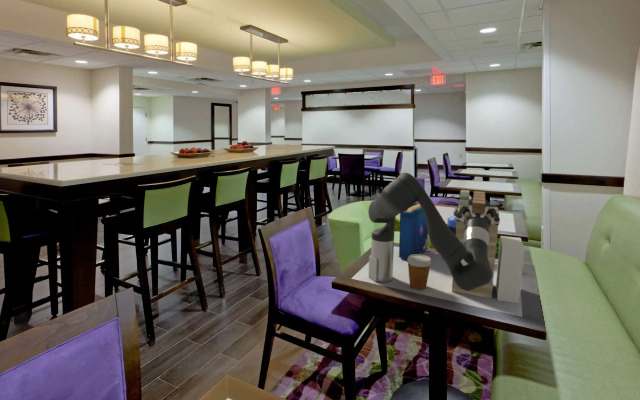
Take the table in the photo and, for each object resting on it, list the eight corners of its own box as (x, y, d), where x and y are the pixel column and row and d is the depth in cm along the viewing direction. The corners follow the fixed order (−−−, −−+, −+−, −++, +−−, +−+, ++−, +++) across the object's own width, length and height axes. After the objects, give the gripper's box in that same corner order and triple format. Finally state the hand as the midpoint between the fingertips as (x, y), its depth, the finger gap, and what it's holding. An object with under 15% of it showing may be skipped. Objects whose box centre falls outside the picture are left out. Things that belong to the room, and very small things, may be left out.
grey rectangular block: (518, 303, 133) (524, 249, 129) (497, 300, 136) (502, 246, 132) (515, 287, 147) (520, 237, 143) (495, 284, 149) (500, 235, 146)
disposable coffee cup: (415, 293, 142) (417, 263, 140) (400, 284, 150) (402, 255, 148) (435, 289, 145) (437, 260, 143) (419, 280, 154) (421, 252, 152)
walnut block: (484, 215, 124) (485, 203, 123) (471, 214, 126) (472, 202, 125) (483, 201, 148) (484, 191, 147) (473, 200, 149) (474, 191, 148)
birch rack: (491, 298, 138) (500, 195, 130) (451, 291, 143) (458, 192, 136) (490, 284, 150) (499, 189, 143) (454, 278, 156) (460, 187, 148)
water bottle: (441, 256, 183) (444, 207, 179) (451, 252, 190) (454, 204, 185) (459, 261, 177) (462, 210, 172) (468, 256, 183) (472, 207, 178)
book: (410, 262, 175) (412, 210, 170) (396, 259, 179) (398, 208, 175) (427, 250, 192) (430, 203, 187) (414, 248, 196) (416, 202, 192)
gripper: (452, 241, 124) (457, 207, 136) (499, 246, 118) (500, 211, 130) (453, 224, 119) (458, 191, 131) (502, 229, 114) (502, 194, 126)
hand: (478, 201), depth 131 cm, fingers closed on walnut block, 4 cm apart
